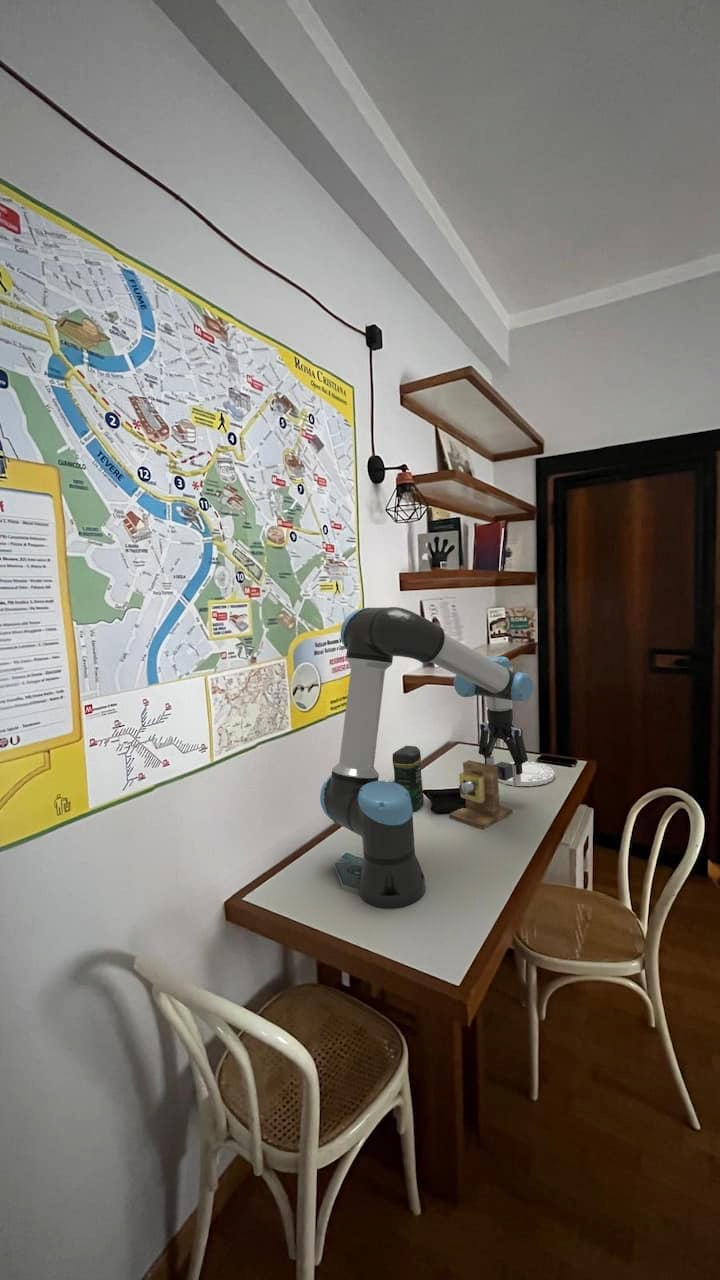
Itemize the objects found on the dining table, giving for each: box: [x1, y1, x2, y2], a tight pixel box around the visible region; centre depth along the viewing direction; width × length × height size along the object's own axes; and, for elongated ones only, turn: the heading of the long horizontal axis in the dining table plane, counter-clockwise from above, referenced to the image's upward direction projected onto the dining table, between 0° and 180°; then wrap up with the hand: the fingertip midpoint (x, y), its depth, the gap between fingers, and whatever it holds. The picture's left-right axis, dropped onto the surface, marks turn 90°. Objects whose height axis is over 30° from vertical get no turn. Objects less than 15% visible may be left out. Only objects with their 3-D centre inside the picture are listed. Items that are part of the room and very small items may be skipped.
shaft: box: [458, 761, 513, 795], centre depth 158 cm, size 21×4×4 cm, turn 130°
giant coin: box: [498, 761, 556, 787], centre depth 185 cm, size 20×20×3 cm
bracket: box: [448, 759, 513, 830], centre depth 156 cm, size 14×12×15 cm
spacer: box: [458, 771, 486, 803], centre depth 154 cm, size 2×7×7 cm, turn 40°
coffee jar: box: [392, 745, 425, 812], centre depth 167 cm, size 10×8×19 cm
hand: (504, 780), depth 164 cm, fingers open, 9 cm apart
